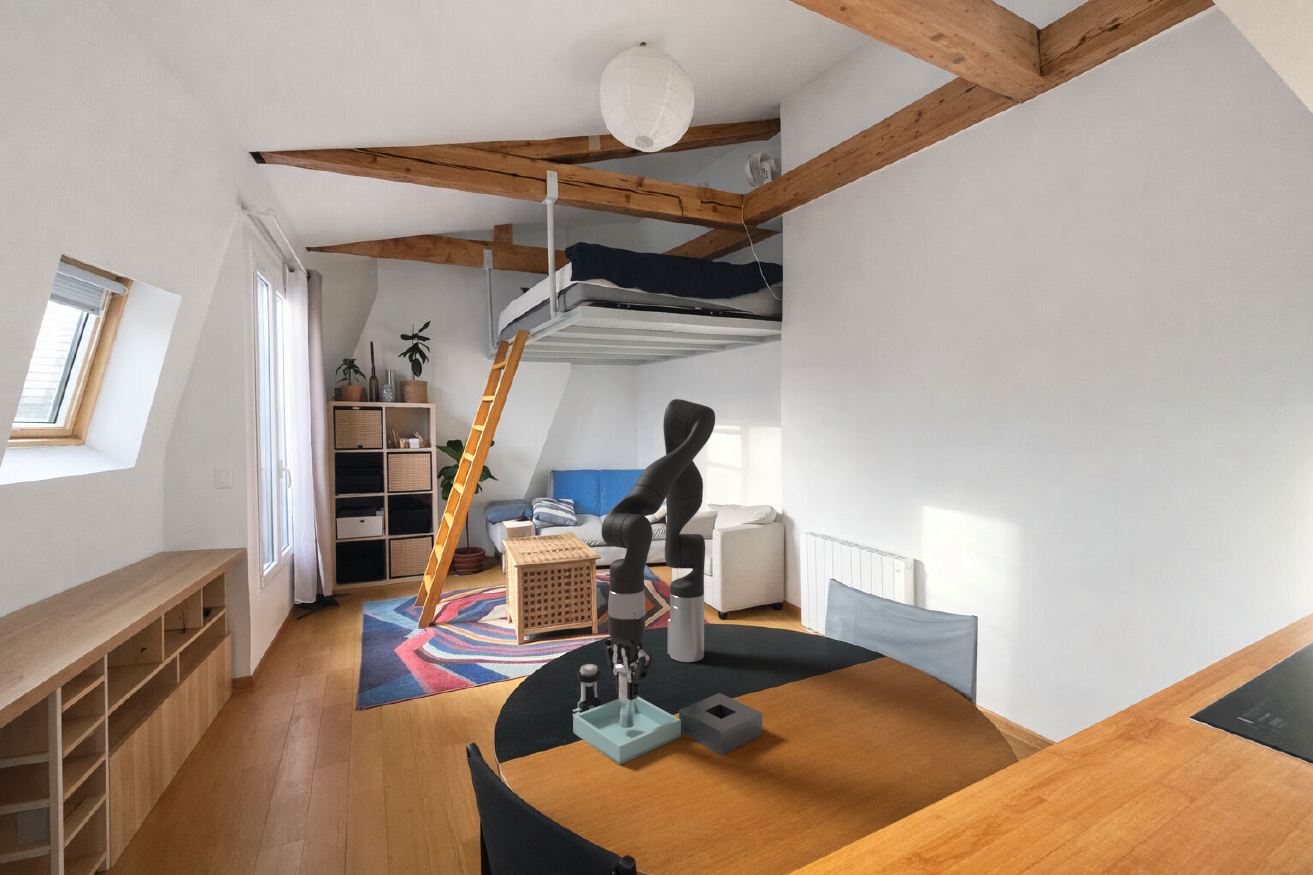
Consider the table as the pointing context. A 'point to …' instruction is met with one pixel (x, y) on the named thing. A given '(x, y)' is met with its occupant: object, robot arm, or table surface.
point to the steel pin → (625, 698)
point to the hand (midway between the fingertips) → (626, 695)
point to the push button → (588, 688)
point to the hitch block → (720, 723)
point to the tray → (626, 730)
